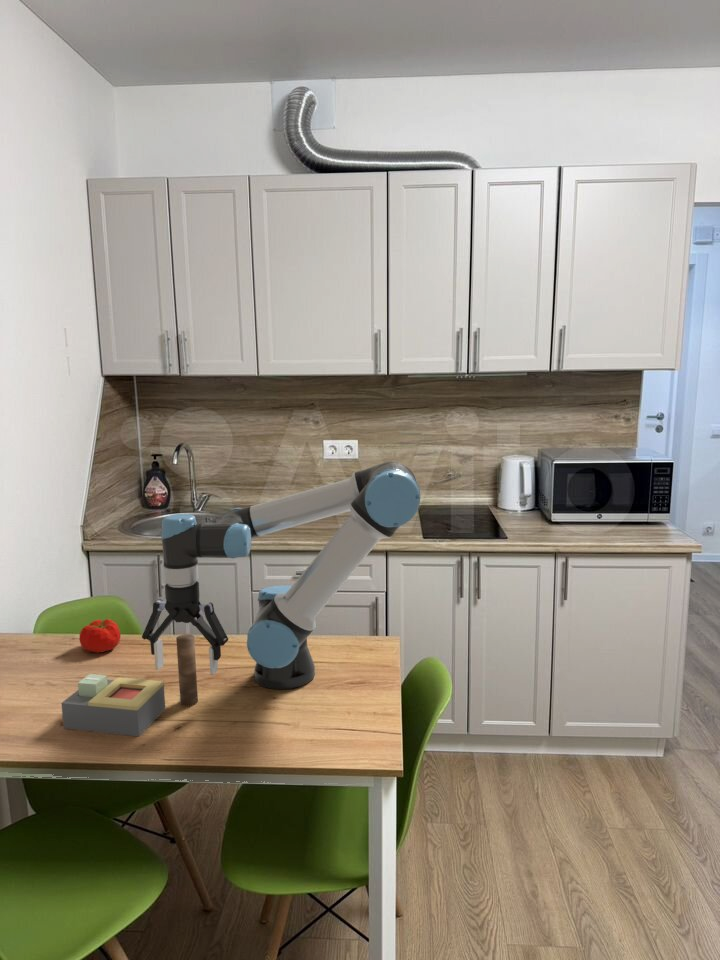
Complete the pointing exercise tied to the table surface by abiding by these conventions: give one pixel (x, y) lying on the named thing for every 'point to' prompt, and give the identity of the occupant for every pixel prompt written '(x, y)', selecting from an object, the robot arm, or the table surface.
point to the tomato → (100, 636)
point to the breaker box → (116, 708)
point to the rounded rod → (187, 670)
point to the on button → (92, 685)
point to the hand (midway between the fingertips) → (186, 670)
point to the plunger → (126, 694)
